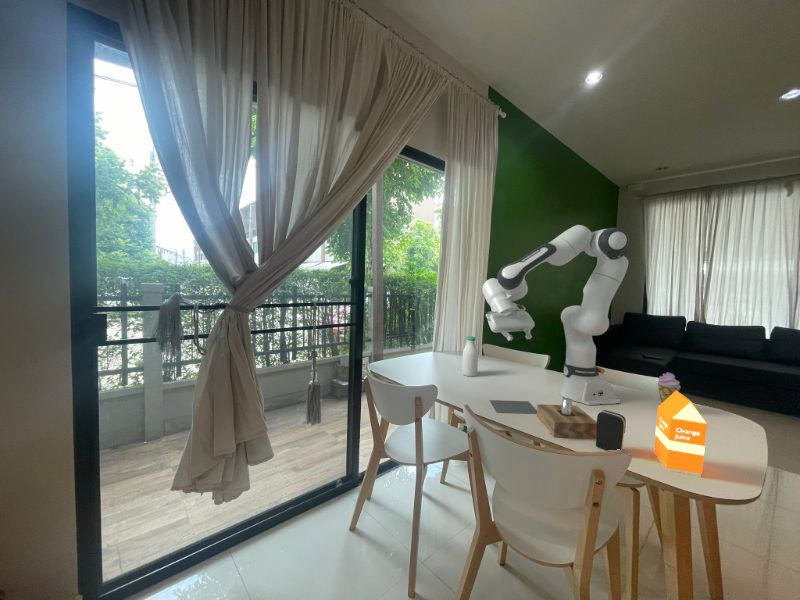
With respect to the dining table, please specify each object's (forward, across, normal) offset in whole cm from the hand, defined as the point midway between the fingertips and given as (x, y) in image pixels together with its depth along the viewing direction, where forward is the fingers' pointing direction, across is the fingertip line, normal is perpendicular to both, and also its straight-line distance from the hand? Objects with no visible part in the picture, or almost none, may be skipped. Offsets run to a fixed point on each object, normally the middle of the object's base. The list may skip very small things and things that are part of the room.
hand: (520, 339), depth 124 cm
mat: (+20, -3, +18) cm, 27 cm away
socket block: (+33, +3, +5) cm, 34 cm away
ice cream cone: (+36, +52, +2) cm, 64 cm away
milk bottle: (-9, +5, +47) cm, 48 cm away
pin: (+33, +3, +5) cm, 34 cm away
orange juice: (+52, +13, -14) cm, 56 cm away
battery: (+44, +4, -6) cm, 44 cm away
